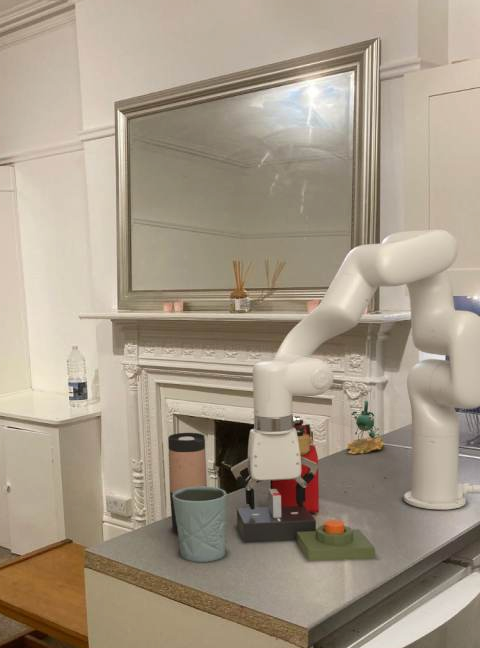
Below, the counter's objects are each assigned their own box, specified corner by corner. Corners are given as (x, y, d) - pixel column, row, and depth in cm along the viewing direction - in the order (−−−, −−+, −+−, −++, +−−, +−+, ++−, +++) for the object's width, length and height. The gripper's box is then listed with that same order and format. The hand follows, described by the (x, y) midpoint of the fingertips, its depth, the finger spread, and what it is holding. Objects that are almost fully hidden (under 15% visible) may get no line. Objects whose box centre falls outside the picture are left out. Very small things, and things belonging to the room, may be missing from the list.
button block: (358, 540, 158) (358, 520, 158) (374, 558, 148) (374, 537, 148) (296, 542, 159) (296, 522, 158) (308, 561, 149) (308, 540, 148)
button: (341, 528, 155) (341, 519, 154) (346, 534, 151) (346, 525, 151) (322, 529, 155) (322, 520, 154) (327, 535, 151) (327, 526, 151)
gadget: (304, 523, 169) (304, 504, 169) (316, 540, 159) (315, 519, 159) (237, 526, 170) (236, 507, 169) (244, 543, 160) (244, 522, 159)
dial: (268, 510, 167) (268, 487, 166) (276, 510, 166) (276, 487, 166) (273, 517, 162) (272, 494, 161) (281, 517, 162) (281, 494, 161)
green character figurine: (399, 444, 233) (397, 395, 230) (367, 463, 222) (364, 412, 218) (368, 439, 240) (365, 391, 237) (335, 458, 229) (332, 408, 225)
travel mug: (170, 525, 173) (166, 433, 170) (206, 523, 173) (203, 431, 170) (172, 537, 165) (168, 441, 163) (210, 535, 165) (207, 439, 162)
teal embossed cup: (237, 558, 152) (235, 496, 150) (187, 567, 149) (184, 503, 147) (214, 541, 161) (212, 483, 160) (167, 549, 159) (164, 489, 157)
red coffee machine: (319, 519, 172) (318, 426, 169) (270, 518, 174) (268, 427, 171) (314, 497, 187) (313, 412, 184) (269, 497, 189) (267, 413, 186)
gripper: (312, 417, 165) (314, 498, 167) (227, 422, 165) (230, 503, 168) (321, 424, 157) (323, 510, 160) (232, 429, 158) (235, 514, 160)
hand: (275, 506), depth 164 cm, fingers open, 9 cm apart
